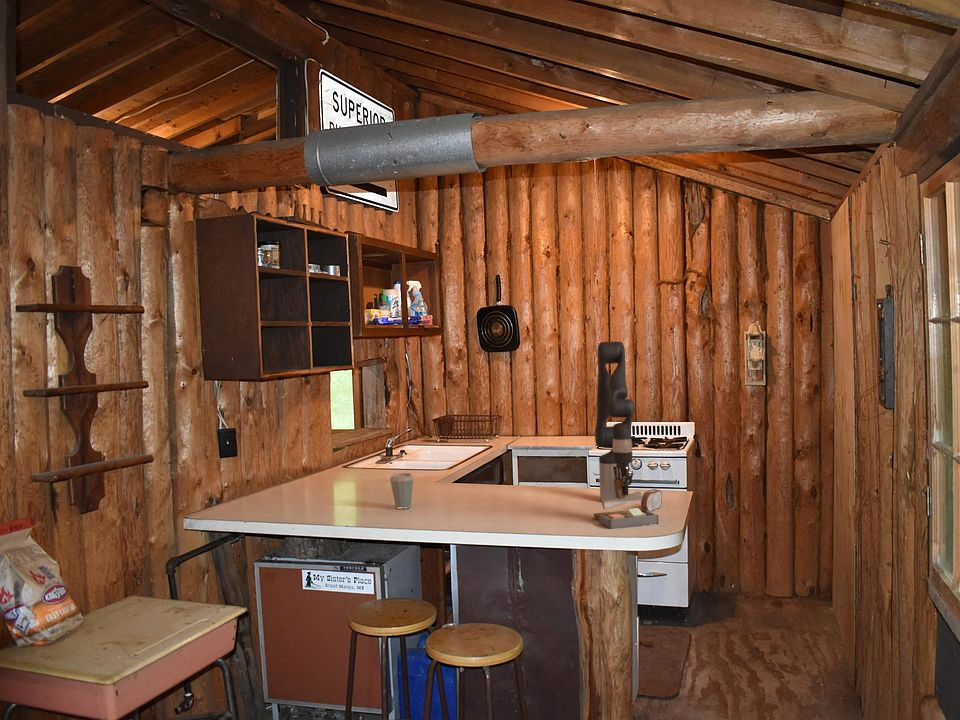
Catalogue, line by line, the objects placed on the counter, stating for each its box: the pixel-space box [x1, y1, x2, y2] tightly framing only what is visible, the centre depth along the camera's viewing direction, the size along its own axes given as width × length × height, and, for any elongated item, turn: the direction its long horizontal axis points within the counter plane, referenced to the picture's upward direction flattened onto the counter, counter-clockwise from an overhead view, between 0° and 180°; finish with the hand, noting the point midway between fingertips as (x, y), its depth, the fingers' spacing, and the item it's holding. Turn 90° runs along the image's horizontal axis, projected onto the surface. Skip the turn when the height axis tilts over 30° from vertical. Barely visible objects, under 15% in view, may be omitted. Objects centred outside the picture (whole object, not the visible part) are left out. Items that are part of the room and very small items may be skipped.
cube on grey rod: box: [601, 478, 643, 510], centre depth 300 cm, size 3×16×10 cm, turn 104°
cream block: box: [627, 507, 645, 517], centre depth 300 cm, size 4×4×3 cm
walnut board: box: [593, 509, 628, 522], centre depth 306 cm, size 10×17×2 cm, turn 105°
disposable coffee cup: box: [389, 472, 414, 508], centre depth 340 cm, size 11×11×15 cm
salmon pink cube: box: [608, 514, 624, 519], centre depth 297 cm, size 4×4×3 cm
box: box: [599, 511, 659, 530], centre depth 297 cm, size 9×20×4 cm, turn 105°
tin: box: [640, 488, 663, 512], centre depth 320 cm, size 15×3×8 cm, turn 141°
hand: (623, 493), depth 301 cm, fingers closed on cube on grey rod, 3 cm apart
